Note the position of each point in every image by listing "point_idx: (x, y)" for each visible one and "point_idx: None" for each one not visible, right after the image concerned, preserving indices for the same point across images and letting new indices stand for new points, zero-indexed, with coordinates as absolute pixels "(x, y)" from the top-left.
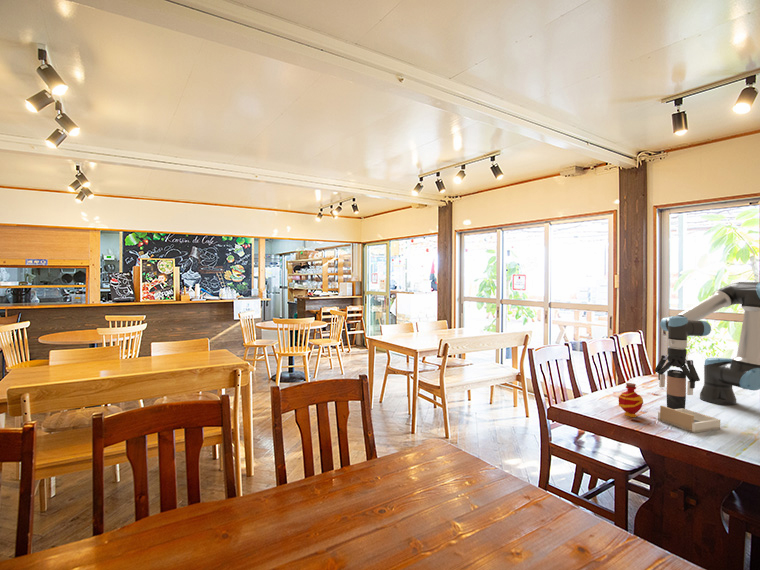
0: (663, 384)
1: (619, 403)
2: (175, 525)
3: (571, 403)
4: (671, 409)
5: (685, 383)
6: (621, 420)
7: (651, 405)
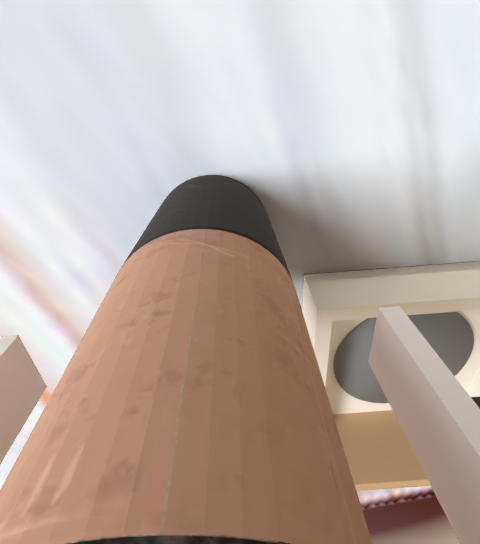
0: (3, 383)
1: None
2: None
3: None
4: (391, 487)
5: (338, 433)
6: None
7: (60, 269)
